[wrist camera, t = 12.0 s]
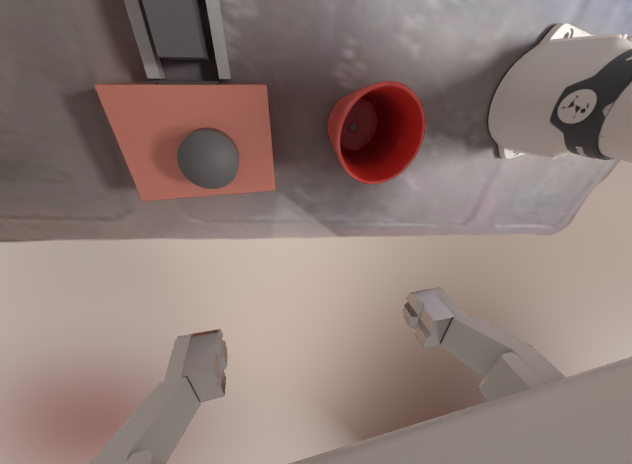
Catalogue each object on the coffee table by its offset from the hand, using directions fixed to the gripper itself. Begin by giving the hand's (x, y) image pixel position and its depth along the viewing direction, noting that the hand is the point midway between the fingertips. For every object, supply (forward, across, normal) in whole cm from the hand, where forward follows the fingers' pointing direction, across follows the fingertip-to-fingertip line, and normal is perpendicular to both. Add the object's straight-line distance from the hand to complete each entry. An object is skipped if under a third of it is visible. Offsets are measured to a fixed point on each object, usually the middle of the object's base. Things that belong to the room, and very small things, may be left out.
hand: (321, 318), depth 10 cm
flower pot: (+29, -12, -3) cm, 32 cm away
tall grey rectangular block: (+29, +8, -14) cm, 33 cm away
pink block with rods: (+29, +8, -7) cm, 31 cm away
